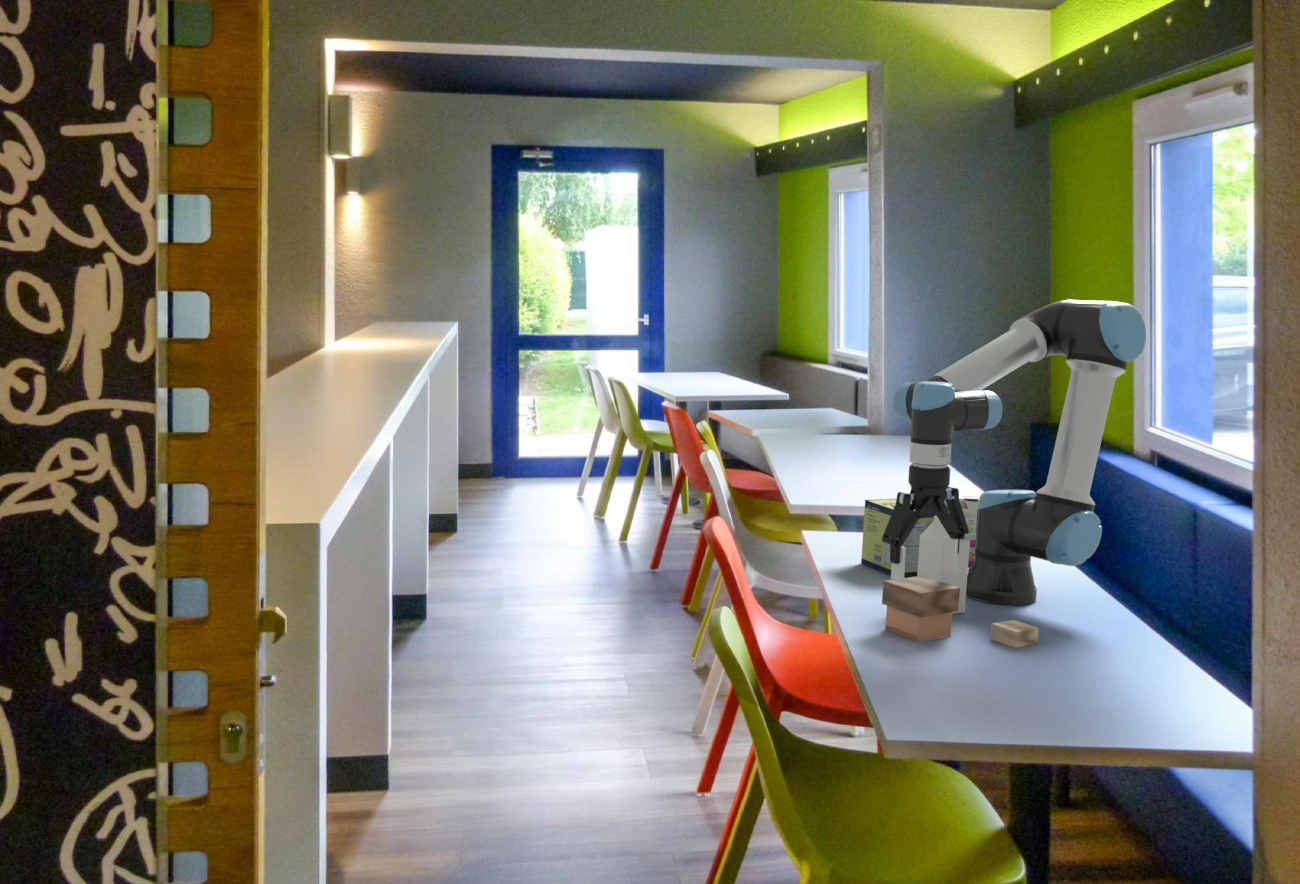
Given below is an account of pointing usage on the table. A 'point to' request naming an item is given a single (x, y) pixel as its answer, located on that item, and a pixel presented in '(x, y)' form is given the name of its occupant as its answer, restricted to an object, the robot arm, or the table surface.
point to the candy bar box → (970, 521)
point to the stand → (1014, 633)
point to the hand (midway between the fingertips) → (923, 575)
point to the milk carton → (934, 558)
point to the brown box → (921, 596)
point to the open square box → (918, 625)
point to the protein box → (878, 551)
